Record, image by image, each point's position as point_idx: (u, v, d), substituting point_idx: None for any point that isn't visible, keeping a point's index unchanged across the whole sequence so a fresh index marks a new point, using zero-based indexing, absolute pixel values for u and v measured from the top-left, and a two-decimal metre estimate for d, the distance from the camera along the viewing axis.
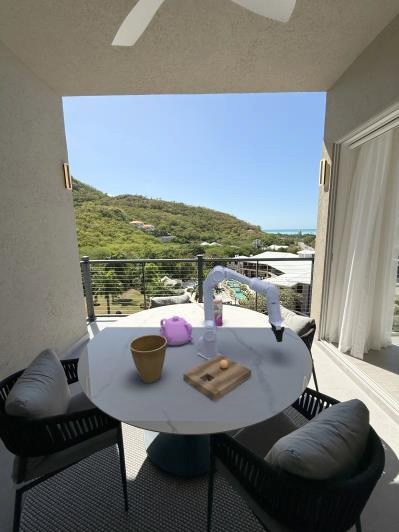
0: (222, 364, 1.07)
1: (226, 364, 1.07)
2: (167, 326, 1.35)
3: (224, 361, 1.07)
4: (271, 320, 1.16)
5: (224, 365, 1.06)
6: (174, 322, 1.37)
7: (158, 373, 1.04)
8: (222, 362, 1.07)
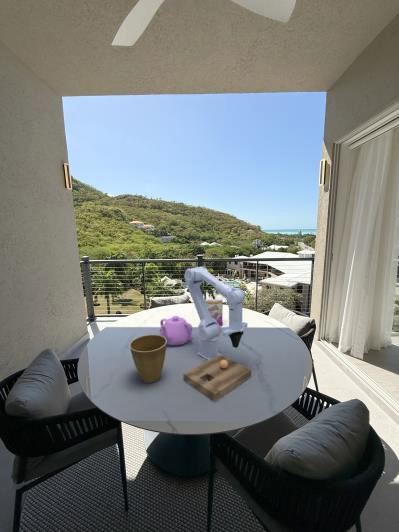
0: (222, 364, 1.07)
1: (226, 364, 1.07)
2: (167, 326, 1.35)
3: (224, 361, 1.07)
4: None
5: (224, 365, 1.06)
6: (174, 322, 1.37)
7: (158, 373, 1.04)
8: (222, 362, 1.07)
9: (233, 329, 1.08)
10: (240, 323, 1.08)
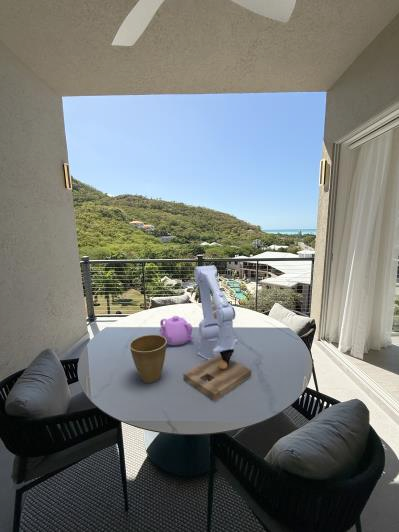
0: (221, 366, 1.06)
1: (225, 365, 1.06)
2: (167, 326, 1.35)
3: (223, 363, 1.07)
4: (219, 343, 1.07)
5: (223, 367, 1.06)
6: (174, 322, 1.37)
7: (158, 373, 1.04)
8: (221, 364, 1.06)
9: (223, 347, 1.05)
10: (230, 341, 1.05)
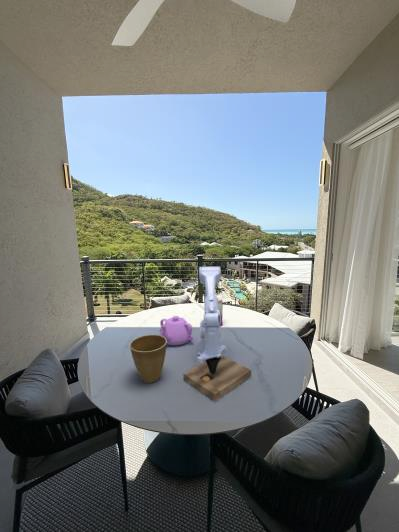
0: None
1: None
2: (167, 326, 1.35)
3: None
4: (205, 350, 1.02)
5: None
6: (174, 322, 1.37)
7: (158, 373, 1.04)
8: None
9: (209, 354, 0.99)
10: (217, 348, 0.99)
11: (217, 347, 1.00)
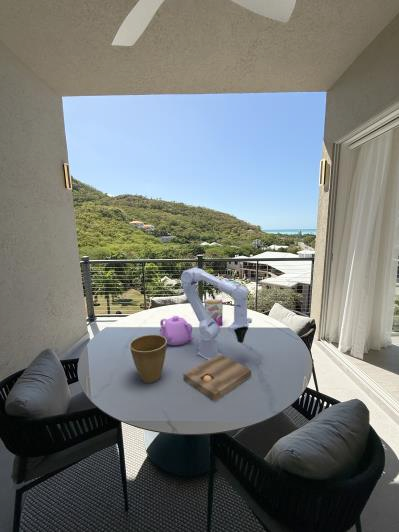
0: None
1: None
2: (167, 326, 1.35)
3: (206, 381, 1.01)
4: (234, 321, 1.14)
5: None
6: (174, 322, 1.37)
7: (158, 373, 1.04)
8: None
9: (238, 324, 1.12)
10: (245, 318, 1.12)
11: (245, 318, 1.12)
